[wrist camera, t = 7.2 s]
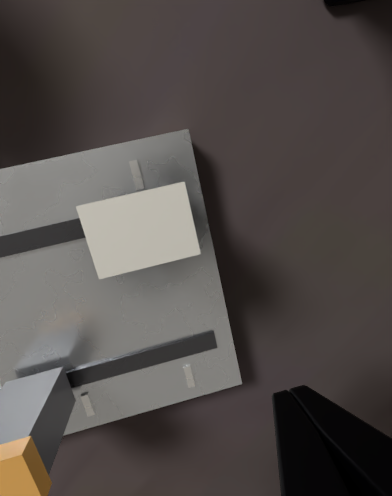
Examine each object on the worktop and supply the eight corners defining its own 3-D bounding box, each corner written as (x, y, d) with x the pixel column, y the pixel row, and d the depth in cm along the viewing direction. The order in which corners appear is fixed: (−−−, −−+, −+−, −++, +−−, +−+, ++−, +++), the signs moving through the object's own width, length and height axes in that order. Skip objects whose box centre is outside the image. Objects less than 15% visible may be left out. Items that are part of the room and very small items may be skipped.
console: (184, 135, 16) (191, 124, 13) (233, 364, 20) (248, 397, 17) (-202, 218, 15) (-297, 228, 12) (-72, 450, 18) (-118, 505, 15)
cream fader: (174, 181, 14) (184, 181, 9) (185, 228, 15) (200, 254, 10) (105, 197, 14) (75, 206, 9) (119, 244, 15) (98, 279, 10)
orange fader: (66, 364, 16) (21, 454, 11) (80, 400, 16) (44, 503, 11) (1, 381, 15) (-78, 483, 10) (17, 418, 16) (-49, 532, 11)
